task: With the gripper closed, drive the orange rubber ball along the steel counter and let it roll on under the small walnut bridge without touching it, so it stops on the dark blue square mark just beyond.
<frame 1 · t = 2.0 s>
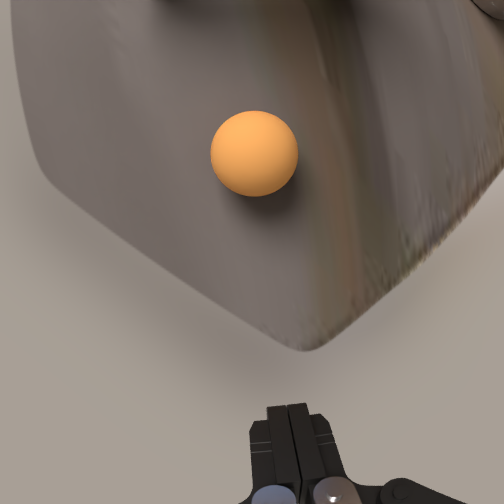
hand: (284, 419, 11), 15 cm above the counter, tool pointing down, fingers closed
ball: (254, 153, 19), on the counter
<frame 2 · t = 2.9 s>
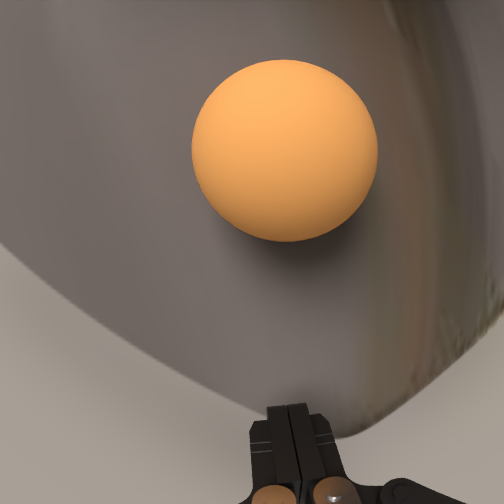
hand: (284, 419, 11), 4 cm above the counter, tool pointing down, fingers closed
ball: (285, 149, 9), on the counter
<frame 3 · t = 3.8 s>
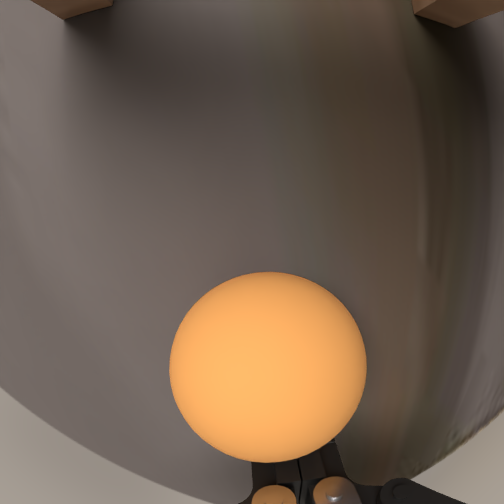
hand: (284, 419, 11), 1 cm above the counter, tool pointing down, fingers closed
ball: (268, 368, 9), on the counter, touching gripper
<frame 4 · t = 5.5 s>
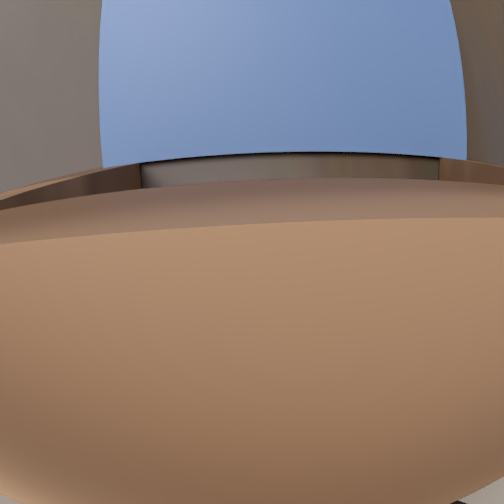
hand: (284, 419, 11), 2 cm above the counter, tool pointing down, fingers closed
bridge: (303, 197, 10), on the counter
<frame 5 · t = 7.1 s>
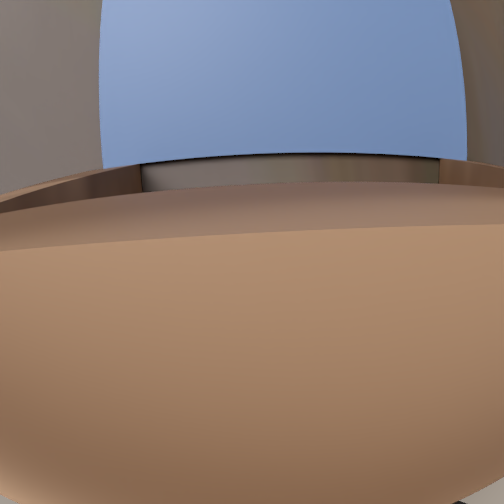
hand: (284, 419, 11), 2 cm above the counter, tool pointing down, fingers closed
bridge: (303, 198, 10), on the counter
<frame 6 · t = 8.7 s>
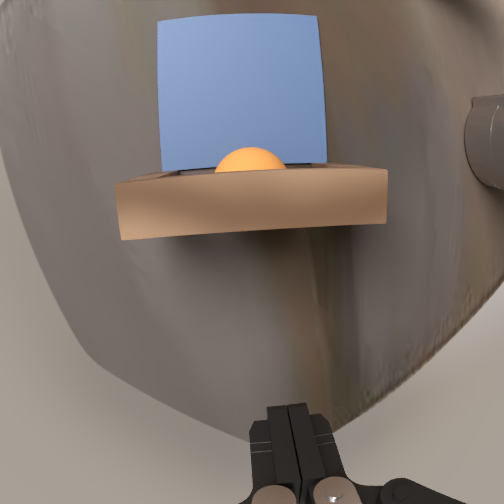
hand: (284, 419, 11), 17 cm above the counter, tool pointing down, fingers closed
bridge: (246, 183, 25), on the counter
ball: (251, 186, 22), on the counter
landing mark: (241, 84, 22), on the counter
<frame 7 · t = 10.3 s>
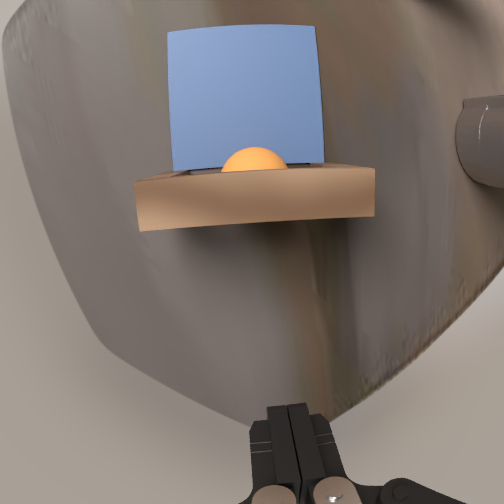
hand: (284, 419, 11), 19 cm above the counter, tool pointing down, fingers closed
bridge: (250, 182, 27), on the counter
ball: (255, 182, 24), on the counter
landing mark: (245, 91, 25), on the counter
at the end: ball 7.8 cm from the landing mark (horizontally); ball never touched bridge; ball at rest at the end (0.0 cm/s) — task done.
